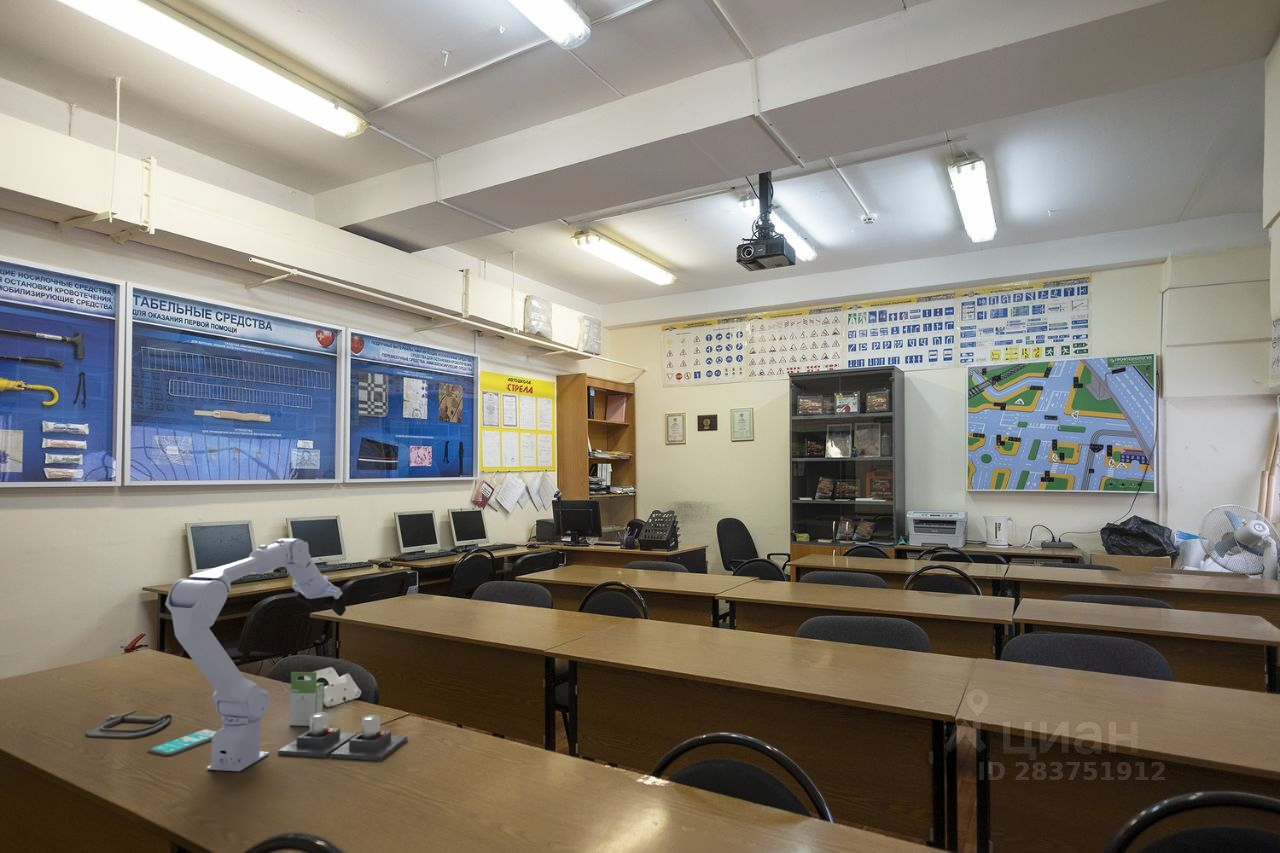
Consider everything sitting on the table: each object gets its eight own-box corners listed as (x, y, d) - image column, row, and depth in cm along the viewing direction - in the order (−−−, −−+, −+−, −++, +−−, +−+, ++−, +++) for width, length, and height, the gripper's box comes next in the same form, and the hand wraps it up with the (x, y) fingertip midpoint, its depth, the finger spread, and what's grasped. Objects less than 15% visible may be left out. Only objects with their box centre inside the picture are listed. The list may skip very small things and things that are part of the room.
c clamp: (67, 737, 168) (67, 725, 168) (134, 713, 184) (134, 702, 184) (133, 744, 163) (134, 732, 163) (196, 718, 180) (196, 708, 180)
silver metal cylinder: (321, 745, 157) (322, 718, 158) (305, 744, 158) (305, 717, 158) (331, 738, 161) (332, 712, 162) (315, 737, 162) (316, 711, 162)
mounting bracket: (350, 701, 197) (341, 664, 200) (363, 695, 195) (354, 658, 198) (312, 713, 187) (303, 674, 190) (325, 707, 184) (316, 668, 187)
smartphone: (231, 731, 168) (169, 754, 154) (231, 735, 168) (169, 758, 154) (207, 726, 171) (144, 748, 157) (207, 730, 171) (144, 753, 157)
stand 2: (381, 761, 151) (381, 743, 151) (330, 758, 153) (331, 741, 153) (407, 740, 163) (407, 724, 163) (360, 737, 164) (360, 721, 165)
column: (374, 748, 155) (374, 721, 156) (357, 747, 156) (357, 720, 156) (383, 741, 159) (383, 715, 160) (366, 740, 160) (367, 714, 160)
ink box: (323, 721, 176) (325, 668, 177) (314, 727, 172) (316, 672, 173) (298, 720, 176) (299, 667, 177) (288, 726, 173) (290, 671, 173)
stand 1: (326, 757, 153) (327, 740, 153) (277, 755, 155) (278, 738, 155) (356, 737, 165) (356, 721, 165) (310, 735, 166) (311, 719, 167)
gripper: (339, 567, 172) (362, 602, 179) (296, 560, 177) (320, 594, 185) (320, 589, 166) (345, 624, 174) (277, 581, 172) (303, 615, 180)
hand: (331, 610), depth 179 cm, fingers open, 7 cm apart
